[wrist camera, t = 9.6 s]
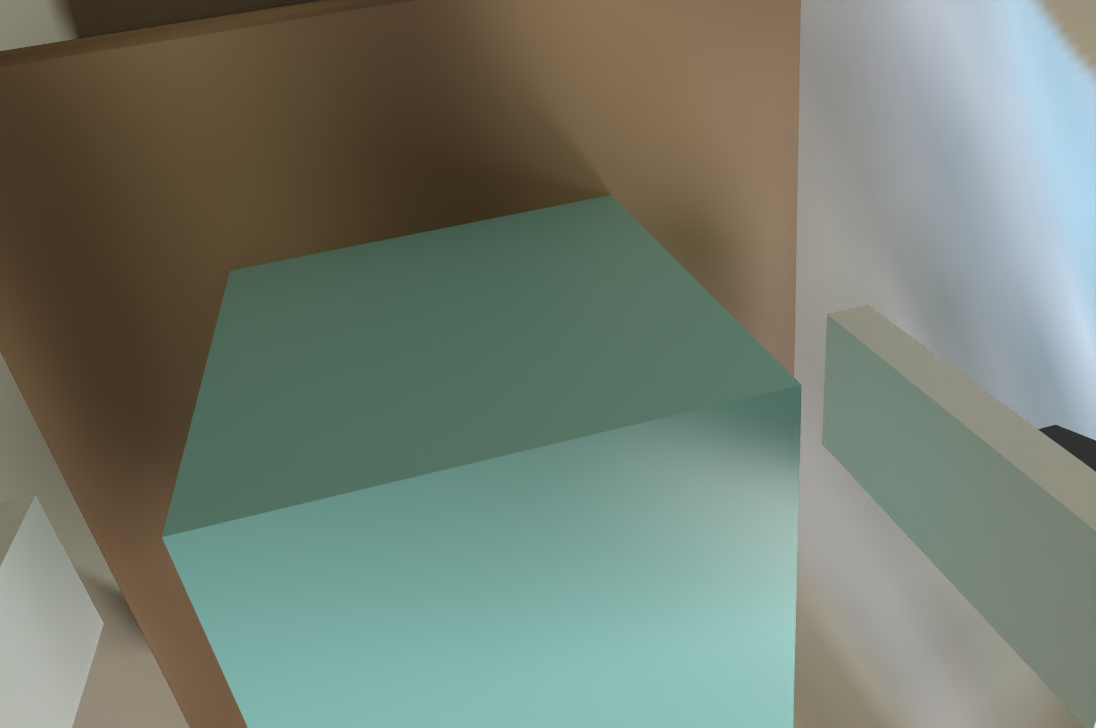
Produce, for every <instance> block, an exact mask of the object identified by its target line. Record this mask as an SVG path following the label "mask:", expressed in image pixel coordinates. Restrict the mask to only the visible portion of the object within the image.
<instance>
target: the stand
mask: <svg viewBox="0 0 1096 728" xmlns="http://www.w3.org/2000/svg"><path fill="white" fill-rule="evenodd" d="M800 10H801V0H318V1H312V2H306V3H300V4H293V5H287V6H281V7H274V8H268V9H262V10H256V11H249V12H243V13H237V14H231V15H224V16H218V17H212V18H206V19H199V20H193V21H187V22H181V23H174V24H168V25H162V26H156V27H149V28H143V29H137V30H131V31H124V32H118V33H112V34H106V35H99V36H93V37H87V38H81V39H74V40H68V41H62V42H56V43H49V44H43V45H37V46H31V47H25V48H18V49H12V50H6V51H0V351H1V353H2V355H3V357H4V359H5V361H6V363H7V365H8V367H9V369H10V371H11V373H12V375H13V377H14V379H15V381H16V383H17V385H18V387H19V389H20V391H21V393H22V395H23V397H24V399H25V401H26V403H27V405H28V407H29V409H30V411H31V413H32V415H33V417H34V419H35V421H36V422H37V425H38V427H39V429H40V431H41V433H42V435H43V437H44V438H45V440H46V443H47V444H48V447H49V448H50V451H51V453H52V455H53V457H54V459H55V461H56V463H57V464H58V467H59V468H60V471H61V472H62V474H63V476H64V478H65V480H66V482H67V484H68V486H69V488H70V490H71V492H72V494H73V496H74V498H75V500H76V502H77V504H78V506H79V508H80V510H81V512H82V514H83V516H84V518H85V520H86V522H87V524H88V526H89V528H90V530H91V532H92V534H93V536H94V538H95V540H96V542H97V544H98V546H99V548H100V550H101V552H102V554H103V556H104V558H105V560H106V562H107V564H108V566H109V568H110V570H111V572H112V574H113V576H114V578H115V580H116V582H117V584H118V586H119V588H120V590H121V592H122V594H123V596H124V598H125V600H126V602H127V604H128V606H129V608H130V610H131V611H132V613H133V615H134V617H135V619H136V621H137V623H138V625H139V627H140V629H141V631H142V633H143V635H144V637H145V639H146V641H147V643H148V645H149V647H150V649H151V651H152V653H153V655H154V657H155V659H156V661H157V663H158V665H159V667H160V669H161V671H162V673H163V675H164V677H165V679H166V681H167V683H168V685H169V687H170V689H171V691H172V693H173V695H174V697H175V699H176V701H177V703H178V705H179V707H180V709H181V711H182V713H183V715H184V717H185V719H186V721H187V723H188V725H189V727H190V728H247V725H246V723H245V720H244V718H243V716H242V714H241V711H240V709H239V707H238V705H237V703H236V700H235V698H234V696H233V694H232V692H231V689H230V687H229V685H228V683H227V680H226V678H225V676H224V674H223V672H222V669H221V667H220V665H219V663H218V660H217V658H216V656H215V654H214V652H213V649H212V647H211V645H210V643H209V641H208V638H207V636H206V634H205V632H204V629H203V627H202V625H201V623H200V621H199V618H198V616H197V614H196V612H195V609H194V607H193V605H192V603H191V601H190V598H189V596H188V594H187V592H186V590H185V587H184V585H183V583H182V581H181V578H180V576H179V574H178V572H177V570H176V567H175V565H174V563H173V561H172V558H171V556H170V554H169V552H168V550H167V547H166V545H165V543H164V541H163V539H162V535H163V531H164V527H165V523H166V519H167V515H168V511H169V507H170V504H171V500H172V496H173V492H174V488H175V484H176V480H177V476H178V472H179V468H180V464H181V461H182V457H183V453H184V449H185V445H186V441H187V437H188V433H189V429H190V425H191V421H192V417H193V414H194V410H195V406H196V402H197V398H198V394H199V390H200V386H201V382H202V378H203V374H204V371H205V367H206V363H207V359H208V355H209V351H210V347H211V343H212V339H213V335H214V331H215V327H216V324H217V320H218V316H219V312H220V308H221V304H222V300H223V296H224V292H225V288H226V284H227V280H228V277H229V273H230V271H231V270H236V269H241V268H246V267H251V266H256V265H261V264H266V263H271V262H276V261H281V260H286V259H291V258H296V257H301V256H306V255H311V254H316V253H321V252H326V251H331V250H336V249H341V248H346V247H352V246H357V245H362V244H367V243H372V242H377V241H382V240H387V239H392V238H397V237H402V236H407V235H412V234H417V233H422V232H427V231H432V230H437V229H442V228H447V227H452V226H457V225H462V224H467V223H472V222H477V221H482V220H487V219H492V218H497V217H502V216H507V215H513V214H518V213H523V212H528V211H533V210H538V209H543V208H548V207H553V206H558V205H563V204H568V203H573V202H578V201H583V200H588V199H593V198H598V197H603V196H608V195H612V196H613V197H614V198H615V199H616V200H617V201H618V202H619V203H620V204H621V205H622V206H623V207H624V208H625V209H626V210H627V211H628V212H629V213H630V214H631V215H632V216H633V217H634V218H635V219H636V220H637V221H638V222H639V223H640V224H641V225H642V226H643V227H644V228H645V229H646V230H647V231H648V232H649V233H650V234H651V235H652V236H653V237H654V238H655V239H656V240H657V241H658V242H659V243H660V244H661V245H662V246H663V247H664V248H665V249H666V250H667V251H668V252H669V253H670V254H671V255H672V256H673V257H674V258H675V259H676V260H677V261H678V262H679V263H680V264H681V265H682V266H683V267H684V268H685V269H686V270H687V271H688V272H689V273H690V274H691V275H692V276H693V277H694V278H695V279H696V280H697V281H698V282H699V283H700V284H701V285H702V286H703V287H704V288H705V289H706V290H707V291H708V292H709V293H710V294H711V295H712V296H713V297H714V298H715V299H716V300H717V301H718V302H719V303H720V304H721V305H722V306H723V307H724V308H725V309H726V310H727V311H728V312H729V313H730V314H731V315H732V316H733V317H734V318H735V319H736V320H737V321H738V322H739V323H740V324H741V325H742V326H743V327H744V328H745V329H746V330H747V331H748V332H749V333H750V334H751V335H752V336H753V337H754V338H755V339H756V340H757V341H758V342H759V343H760V344H761V345H762V346H763V347H764V348H765V349H766V350H767V351H768V352H769V353H770V354H771V355H772V356H773V357H774V358H775V359H776V360H777V361H778V362H779V363H780V364H781V365H782V366H783V367H784V368H785V369H786V370H787V371H788V372H789V373H790V374H791V375H792V376H793V377H794V345H795V289H796V233H797V177H798V121H799V65H800Z"/></svg>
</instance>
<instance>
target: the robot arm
mask: <svg viewBox="0 0 1096 728" xmlns="http://www.w3.org/2000/svg"><path fill="white" fill-rule="evenodd" d="M822 444H823V445H824V446H825V447H826V448H827V450H828V451H829V452H830V453H831V454H832V455H833V456H834V457H835V458H836V459H837V460H838V461H839V462H840V464H841V465H842V466H843V467H844V468H845V469H846V470H847V471H848V472H849V473H850V474H851V475H852V476H853V477H854V479H855V480H856V481H857V482H858V483H859V484H860V485H861V486H862V487H863V488H864V489H865V490H866V491H867V493H868V494H869V495H870V496H871V497H872V498H873V499H874V500H875V501H876V502H877V503H878V504H879V505H880V507H881V508H882V509H883V510H884V511H885V512H886V513H887V514H888V515H889V516H890V517H891V518H892V519H893V520H894V522H895V523H896V524H897V525H898V526H899V527H900V528H901V529H902V530H903V531H904V532H905V533H906V534H907V536H908V537H909V538H910V539H911V540H912V541H913V542H914V543H915V544H916V545H917V546H918V547H919V548H920V550H921V551H922V552H923V553H924V554H925V555H926V556H927V557H928V558H929V559H930V560H931V561H932V562H933V564H934V565H935V566H936V567H937V568H938V569H939V570H940V571H941V572H942V573H943V574H944V575H945V576H946V577H947V579H948V580H949V581H950V582H951V583H952V584H953V585H954V586H955V587H956V588H957V589H958V590H959V591H960V593H961V594H962V595H963V596H964V597H965V598H966V599H967V600H968V601H969V602H970V603H971V604H972V605H973V607H974V608H975V609H976V610H977V611H978V612H979V613H980V614H981V615H982V616H983V617H984V618H985V619H986V620H987V622H988V623H989V624H990V625H991V626H992V627H993V628H994V629H995V630H996V631H997V632H998V633H999V634H1000V636H1001V637H1002V638H1003V639H1004V640H1005V641H1006V642H1007V643H1008V644H1009V645H1010V646H1011V647H1012V648H1013V650H1014V651H1015V652H1016V653H1017V654H1018V655H1019V656H1020V657H1021V658H1022V659H1023V660H1024V661H1025V662H1026V663H1027V665H1028V666H1029V667H1030V668H1031V669H1032V670H1033V671H1034V672H1035V673H1036V674H1037V675H1038V676H1039V677H1040V679H1041V680H1042V681H1043V682H1044V683H1045V684H1046V685H1047V686H1048V687H1049V688H1050V689H1051V690H1052V691H1053V693H1054V694H1055V695H1056V696H1057V697H1058V698H1059V699H1060V700H1061V701H1062V702H1063V703H1064V704H1065V705H1066V707H1067V708H1068V709H1069V710H1070V711H1071V712H1072V713H1073V714H1074V715H1075V716H1076V717H1077V718H1078V719H1079V720H1080V722H1081V723H1082V724H1083V725H1084V726H1085V727H1086V728H1096V441H1095V440H1093V439H1090V438H1088V437H1085V436H1083V435H1080V434H1078V433H1075V432H1073V431H1070V430H1067V429H1065V428H1062V427H1060V426H1057V425H1053V426H1049V427H1045V428H1041V429H1037V428H1035V427H1034V426H1033V425H1031V424H1030V423H1028V422H1027V421H1026V420H1024V419H1023V418H1022V417H1020V416H1019V415H1018V414H1016V413H1015V412H1013V411H1012V410H1011V409H1009V408H1008V407H1007V406H1005V405H1004V404H1002V403H1001V402H1000V401H998V400H997V399H996V398H994V397H993V396H992V395H990V394H989V393H987V392H986V391H985V390H983V389H982V388H981V387H979V386H978V385H976V384H975V383H974V382H972V381H971V380H970V379H968V378H967V377H966V376H964V375H963V374H961V373H960V372H959V371H957V370H956V369H955V368H953V367H952V366H950V365H949V364H948V363H946V362H945V361H944V360H942V359H941V358H940V357H938V356H937V355H935V354H934V353H933V352H931V351H930V350H929V349H927V348H926V347H924V346H923V345H922V344H920V343H919V342H918V341H916V340H915V339H914V338H912V337H911V336H909V335H908V334H907V333H905V332H904V331H903V330H901V329H900V328H898V327H897V326H896V325H894V324H893V323H892V322H890V321H889V320H887V319H886V318H885V317H883V316H882V315H881V314H879V313H878V312H877V311H875V310H874V309H872V308H871V307H870V306H868V305H865V306H861V307H857V308H852V309H848V310H844V311H839V312H835V313H830V314H827V334H826V360H825V386H824V412H823V438H822ZM103 625H104V623H103V621H102V619H101V618H100V616H99V614H98V612H97V610H96V608H95V606H94V604H93V603H92V601H91V599H90V597H89V595H88V593H87V591H86V589H85V587H84V586H83V584H82V582H81V580H80V578H79V576H78V574H77V572H76V570H75V569H74V567H73V565H72V563H71V561H70V559H69V557H68V555H67V554H66V552H65V550H64V548H63V546H62V544H61V542H60V541H59V539H58V537H57V535H56V533H55V531H54V529H53V527H52V525H51V524H50V522H49V520H48V518H47V516H46V515H45V512H44V510H43V508H42V506H41V505H40V503H39V501H38V499H37V497H36V495H33V496H29V497H24V498H20V499H15V500H11V501H7V502H3V503H0V728H72V726H73V723H74V720H75V716H76V713H77V710H78V707H79V703H80V700H81V697H82V693H83V690H84V687H85V684H86V680H87V677H88V674H89V671H90V667H91V664H92V661H93V658H94V654H95V651H96V648H97V644H98V641H99V638H100V635H101V631H102V628H103Z"/></svg>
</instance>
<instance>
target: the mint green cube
mask: <svg viewBox="0 0 1096 728" xmlns="http://www.w3.org/2000/svg"><path fill="white" fill-rule="evenodd" d="M800 421H801V384H800V383H799V382H798V381H797V380H796V379H795V378H794V377H793V376H792V375H791V374H790V373H789V372H788V371H787V370H786V369H785V368H784V367H783V366H782V365H781V364H780V363H779V362H778V361H777V360H776V359H775V358H774V357H773V356H772V355H771V354H770V353H769V352H768V351H767V350H766V349H765V348H764V347H763V346H762V345H761V344H760V343H759V342H758V341H757V340H756V339H755V338H754V337H753V336H752V335H751V334H750V333H749V332H748V331H747V330H746V329H745V328H744V327H743V326H742V325H741V324H740V323H739V322H738V321H737V320H736V319H735V318H734V317H733V316H732V315H731V314H730V313H729V312H728V311H727V310H726V309H725V308H724V307H723V306H722V305H721V304H720V303H719V302H718V301H717V300H716V299H715V298H714V297H713V296H712V295H711V294H710V293H709V292H708V291H707V290H706V289H705V288H704V287H703V286H702V285H701V284H700V283H699V282H698V281H697V280H696V279H695V278H694V277H693V276H692V275H691V274H690V273H689V272H688V271H687V270H686V269H685V268H684V267H683V266H682V265H681V264H680V263H679V262H678V261H677V260H676V259H675V258H674V257H673V256H672V255H671V254H670V253H669V252H668V251H667V250H666V249H665V248H664V247H663V246H662V245H661V244H660V243H659V242H658V241H657V240H656V239H655V238H654V237H653V236H652V235H651V234H650V233H649V232H648V231H647V230H646V229H645V228H644V227H643V226H642V225H641V224H640V223H639V222H638V221H637V220H636V219H635V218H634V217H633V216H632V215H631V214H630V213H629V212H628V211H627V210H626V209H625V208H624V207H623V206H622V205H621V204H620V203H619V202H618V201H617V200H616V199H615V198H614V197H613V196H612V195H608V196H603V197H598V198H593V199H588V200H583V201H578V202H573V203H568V204H563V205H558V206H553V207H548V208H543V209H538V210H533V211H528V212H523V213H518V214H513V215H507V216H502V217H497V218H492V219H487V220H482V221H477V222H472V223H467V224H462V225H457V226H452V227H447V228H442V229H437V230H432V231H427V232H422V233H417V234H412V235H407V236H402V237H397V238H392V239H387V240H382V241H377V242H372V243H367V244H362V245H357V246H352V247H346V248H341V249H336V250H331V251H326V252H321V253H316V254H311V255H306V256H301V257H296V258H291V259H286V260H281V261H276V262H271V263H266V264H261V265H256V266H251V267H246V268H241V269H236V270H231V271H230V273H229V277H228V280H227V284H226V288H225V292H224V296H223V300H222V304H221V308H220V312H219V316H218V320H217V324H216V327H215V331H214V335H213V339H212V343H211V347H210V351H209V355H208V359H207V363H206V367H205V371H204V374H203V378H202V382H201V386H200V390H199V394H198V398H197V402H196V406H195V410H194V414H193V417H192V421H191V425H190V429H189V433H188V437H187V441H186V445H185V449H184V453H183V457H182V461H181V464H180V468H179V472H178V476H177V480H176V484H175V488H174V492H173V496H172V500H171V504H170V507H169V511H168V515H167V519H166V523H165V527H164V531H163V535H162V539H163V541H164V543H165V545H166V547H167V550H168V552H169V554H170V556H171V558H172V561H173V563H174V565H175V567H176V570H177V572H178V574H179V576H180V578H181V581H182V583H183V585H184V587H185V590H186V592H187V594H188V596H189V598H190V601H191V603H192V605H193V607H194V609H195V612H196V614H197V616H198V618H199V621H200V623H201V625H202V627H203V629H204V632H205V634H206V636H207V638H208V641H209V643H210V645H211V647H212V649H213V652H214V654H215V656H216V658H217V660H218V663H219V665H220V667H221V669H222V672H223V674H224V676H225V678H226V680H227V683H228V685H229V687H230V689H231V692H232V694H233V696H234V698H235V700H236V703H237V705H238V707H239V709H240V711H241V714H242V716H243V718H244V720H245V723H246V725H247V727H248V728H793V708H794V667H795V626H796V585H797V544H798V503H799V462H800Z"/></svg>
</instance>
